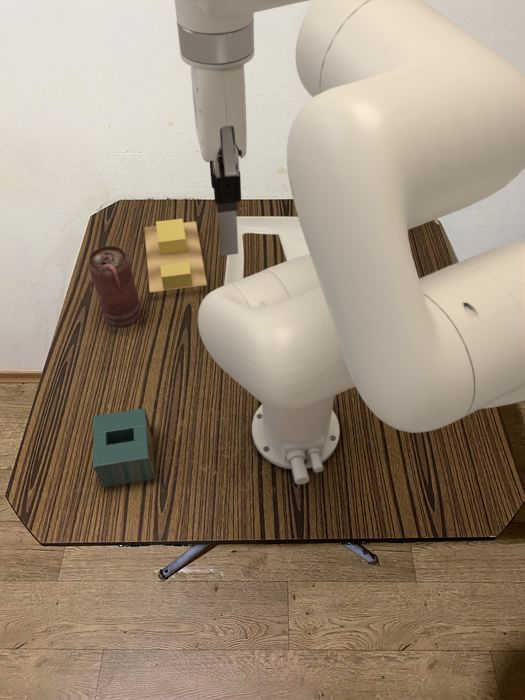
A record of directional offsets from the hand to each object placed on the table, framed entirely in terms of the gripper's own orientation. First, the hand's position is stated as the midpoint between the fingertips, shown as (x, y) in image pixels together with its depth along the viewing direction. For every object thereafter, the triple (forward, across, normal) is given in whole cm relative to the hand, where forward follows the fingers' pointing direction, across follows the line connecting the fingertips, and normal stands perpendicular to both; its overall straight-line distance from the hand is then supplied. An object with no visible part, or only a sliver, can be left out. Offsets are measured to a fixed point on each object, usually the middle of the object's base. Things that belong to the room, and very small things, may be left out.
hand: (226, 193), depth 71 cm
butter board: (+29, -22, -8) cm, 37 cm away
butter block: (+28, -25, -8) cm, 38 cm away
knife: (+10, 0, 0) cm, 10 cm away
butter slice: (+28, -15, -8) cm, 32 cm away
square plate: (+29, -13, +14) cm, 35 cm away
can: (+29, -9, -18) cm, 35 cm away
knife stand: (+29, +18, -18) cm, 39 cm away
